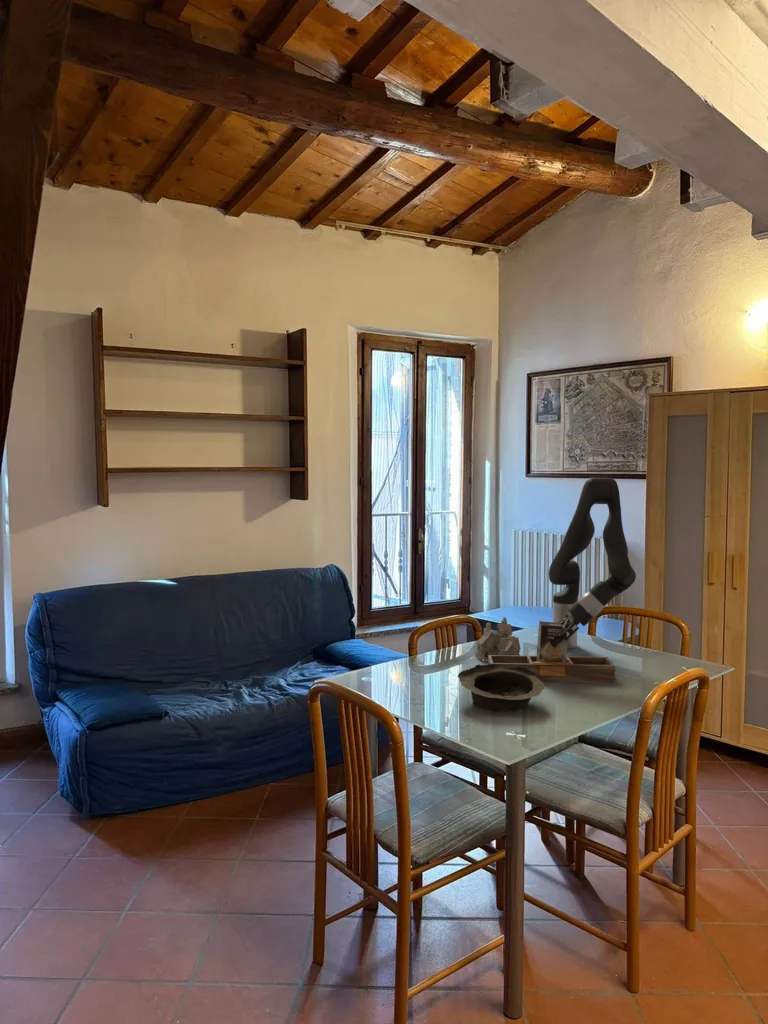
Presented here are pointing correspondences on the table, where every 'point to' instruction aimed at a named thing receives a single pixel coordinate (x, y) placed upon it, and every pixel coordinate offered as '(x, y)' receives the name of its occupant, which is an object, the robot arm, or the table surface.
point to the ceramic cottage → (498, 642)
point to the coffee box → (545, 648)
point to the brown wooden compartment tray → (561, 668)
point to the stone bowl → (501, 686)
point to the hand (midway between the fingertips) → (550, 642)
